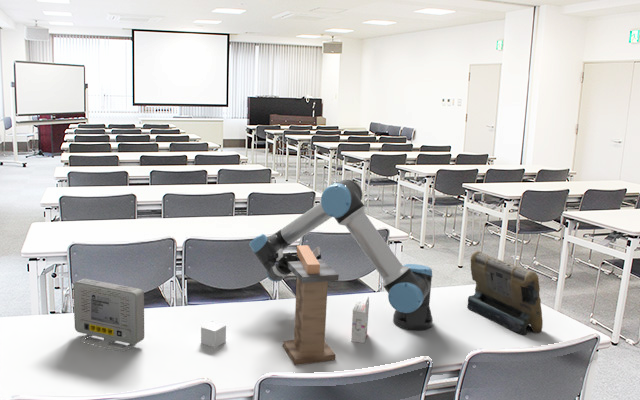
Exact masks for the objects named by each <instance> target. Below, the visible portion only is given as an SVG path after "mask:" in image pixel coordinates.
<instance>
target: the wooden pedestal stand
mask: <svg viewBox="0 0 640 400" xmlns="http://www.w3.org/2000/svg"><path fill="white" fill-rule="evenodd" d="M318 262H319V264H320V273H316V274H307V272H306V271H305V269H304V267H303V265H302V263H301V261H293V262H288V268H289V269H290V270H291V271H292V272H291V274H293V275H294V276H295V277H296V285H295V287H296V289H295V310H294V312H295V313H294V334H293V335H294V336H293V339H288V340H287V339H286V340H282V347H283V349H284V351H285V352H286V353H287V355H288V357H289V358H290V360H291V361H292V363H293V364H294V366H300V365H306V364H307V365H309V364H314V363H323V362H330V361H336V360H337V359H336V353H335V352H334V350H333V349H332V348H331V346H329V344H328V343H327V342H326V341H325V340H326V324H327V323H326V322H327V321H326V320H327V306H328V305H327V303H328V284H329V282H337V281H339V273H337V272H336V271H335V270H334V269H333V268H332V267H331V266H329V265H328V264H327V263H326V262H324V260H322V259H318Z"/></svg>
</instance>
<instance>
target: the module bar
mask: <svg viewBox="0 0 640 400" xmlns="http://www.w3.org/2000/svg"><path fill="white" fill-rule="evenodd" d="M312 251H313V250H311V248H310V246H309V245H307V244H306V245H304V244H303V245H296V255H298V257H299V259H300V261H301V263H302V265H303V267H304V269H305V271H306V272H307V274H316V273H320V264H319V262H318V260H319V259H318V260H317V259H316V257H315V256H314V254H313V252H312ZM298 257H297V258H298Z"/></svg>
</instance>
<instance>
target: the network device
mask: <svg viewBox="0 0 640 400" xmlns="http://www.w3.org/2000/svg"><path fill="white" fill-rule="evenodd" d="M72 291H73V293H72V294H73V317H74V318H73V319H74V329H75V331H76V332H77V333H80V334H84V335H83V336H82V337H81V338H80V341H82V342H85V343H84V344H86V343H89V344H88V345H90V344H94V345H93V346H95V345H97V346H96V347H99V346H101V347H100V348H103V347H105V349H108V348H109V350H112V349H113V351H116V350H118V351H117V352H121V351H127V350H130V349H131V348H133V347H134V346H136V345H137V344H139V343H140V342H142V341H143V340H144V339H145V293H144V290H143V289H141V288H137V287H131V286H126V285H120V284H116V283H110V282H106V281H105V282H104V281H98V280H94V279H90V278H89V279H88V278H81V279H80V280H77V281H75V282H74V283H73V285H72ZM91 335H92V336H94V337H97V338H101V339H102V340H101V341H99V342H95V341H92V340H91V341H90V340H87V339H88V338H87V337H89V336H90V337H92V336H91ZM90 337H89V338H90ZM85 338H87V339H85ZM84 339H85V340H84ZM114 342H120V343H125V344H128V345H126V346H124V347H116V346H113V345H111V344H112V343H114Z"/></svg>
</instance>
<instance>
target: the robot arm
mask: <svg viewBox="0 0 640 400" xmlns="http://www.w3.org/2000/svg"><path fill="white" fill-rule="evenodd" d="M363 197H364V195H363V189H362V187H361V185H359V184H358V182H356V181H354V180H352V179H343V180H340V181H338V182H334V183H332V184H330V185H329V186H328V187H326V188H325V189H324V190H323V192H322V194H321V198H320V202H319V203H317V204H316V205H314V206H313V207H312V208H310V209H308V210H307V211H306V212H304V213H302V214H301V215H300V216H298V217H296V218H295V219H294V220H293V221H291V222H290V223H288V224H287V225H285V226H284V227H283V228H281V229H279V230H278V231H276V232H275V233H273V234H272V235H270V236H268V237H267V236H266V234H265V233H261V234H259V235H257V236H256V237H254V238H253V239H252V240H250V242H249V247H250V248H251V250H252V252H253V253H254V255H255V256H256V257H257V259H258V260H259V262H260V263H261V265H262V266H263V267H264V269H265V271H266V273H265V274H266V277H267V278H268V279H269V280H270V281H271V282H274V283H276V282H280V281H282V280H283V279H286V277H288V275H289V274H292V271H291V270H290V269H289V268H288V262H293V261H300V259H299V257H298V255H297V254H295V255H294V254H290V253H288V252H287V253H283V252H284V250H286V249H287V248H288V247H289V246H291V245H292V244H294V243H295V242H297V241H298V240H300V239H301V238H303V237H304V236H306V235H307V234H309V233H310V232H312V231H313V230H315V229H316V228H318V227H320V226H321V225H322V224H324V223H325V222H328V221H329V220H331V218H334V219H335V220H336V222H337V224H338V225H340V226H344V227H346V229H347V231H348V232H349V233H350V234H351V236H352V238H353V239H354V240H355V242H357V244H358V245H359V247H360V249H361V250H362V251H363V253H364V254H365V256H366V257H367V258H368V260H369V261H370V263H371V264H372V266H373V267H374V268H375V270H376V271H377V273H378V274H379V275H380V277H381V278H382V279H383V282H382V286H383V288H384V289H385V291H386V292H387V297H388V298H387V299H388V303H389V304H390V306H391V307H392V308H393V309H394V313H393V317H392V322H393V323H394V324H395V325H396V326H397V327H400V328H403V329H405V330H412V331H425V330H428V329H430V328H431V327H433V321H434V320H433V316H432V311H431V308H430V307H431V306H430V303H431V302H430V301H431V290H432V289H431V288H432V278H433V270H432V268H431V267H429V266H427V265H422V264H415V263H405V264H403V265H402V263H401V262H400V260H399V259H398V258H397V256H396V254H395V253H394V252H393V251H392V249H391V248H390V246H389V244H388V243H387V242H386V240H385V239H384V238H383V237H382V235H381V234H380V232H379V231H378V230H377V228H376V227H375V225H374V224H373V223H372V221H371V220H370V218H369V217H368V215H367V214H366V212H365V207H366V205H365V204H364V203H363V202H362V200H363ZM311 251H312V252H313V254H314V256H315V257H316V259H317V260H322V252H321V248H320V246H317V247H315V248H314V249H313V250H311Z"/></svg>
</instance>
